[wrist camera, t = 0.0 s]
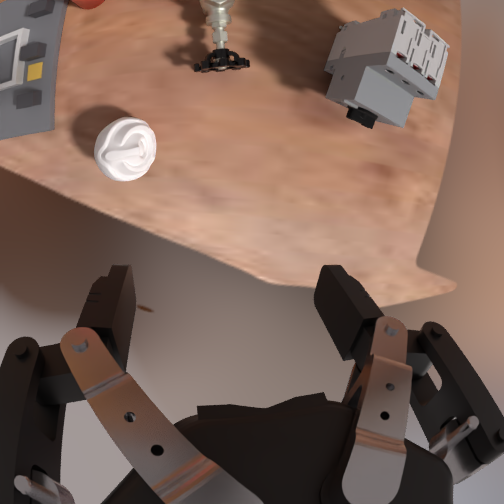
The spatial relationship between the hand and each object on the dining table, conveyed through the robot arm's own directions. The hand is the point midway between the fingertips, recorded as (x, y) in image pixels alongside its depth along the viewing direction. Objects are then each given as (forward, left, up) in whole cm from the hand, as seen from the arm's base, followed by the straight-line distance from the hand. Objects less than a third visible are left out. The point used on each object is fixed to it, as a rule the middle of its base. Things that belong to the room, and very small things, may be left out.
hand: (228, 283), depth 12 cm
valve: (-17, 0, -30) cm, 34 cm away
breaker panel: (-16, -29, -29) cm, 44 cm away
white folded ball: (-1, -10, -30) cm, 31 cm away
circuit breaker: (-14, +19, -30) cm, 38 cm away
